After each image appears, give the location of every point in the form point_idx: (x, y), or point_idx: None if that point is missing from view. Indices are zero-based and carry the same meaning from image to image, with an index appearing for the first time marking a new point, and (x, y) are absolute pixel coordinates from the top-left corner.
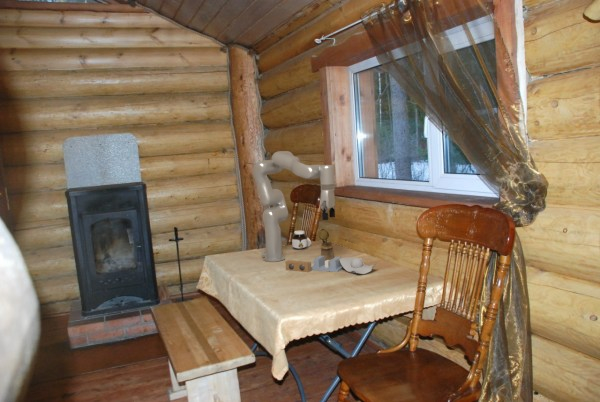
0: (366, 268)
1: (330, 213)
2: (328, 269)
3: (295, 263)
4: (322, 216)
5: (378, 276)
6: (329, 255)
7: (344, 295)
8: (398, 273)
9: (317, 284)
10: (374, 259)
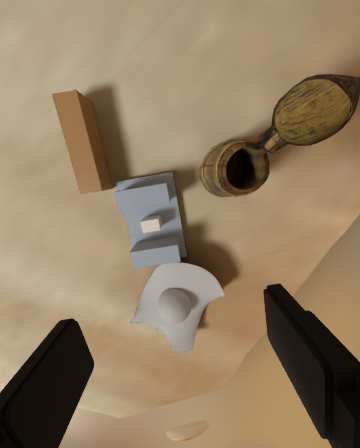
0: (168, 327)
1: (289, 335)
2: (130, 239)
3: (68, 143)
4: (33, 355)
5: (155, 350)
6: (216, 190)
7: (9, 354)
8: (196, 371)
9: (26, 276)
10: (300, 277)
